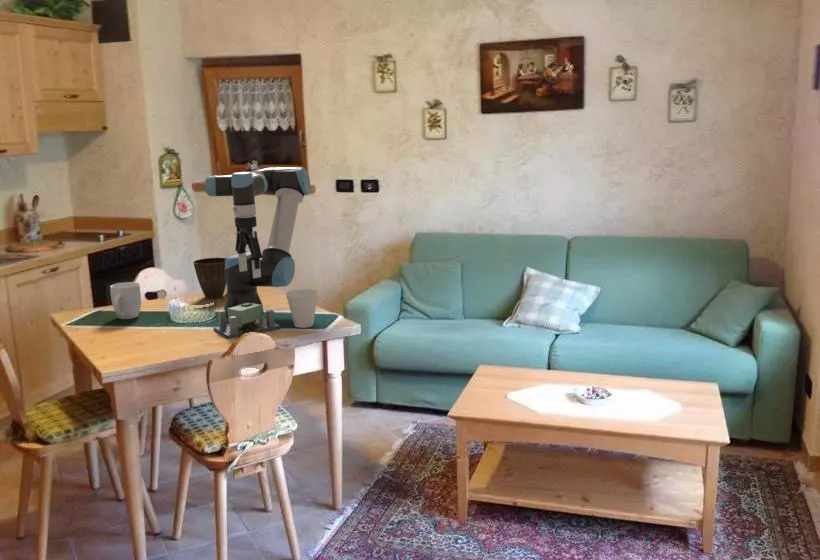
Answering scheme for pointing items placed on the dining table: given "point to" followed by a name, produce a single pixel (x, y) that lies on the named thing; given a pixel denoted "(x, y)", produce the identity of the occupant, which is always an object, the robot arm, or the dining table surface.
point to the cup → (302, 306)
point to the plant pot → (211, 276)
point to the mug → (126, 299)
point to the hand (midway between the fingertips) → (250, 274)
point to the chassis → (245, 325)
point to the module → (246, 312)
